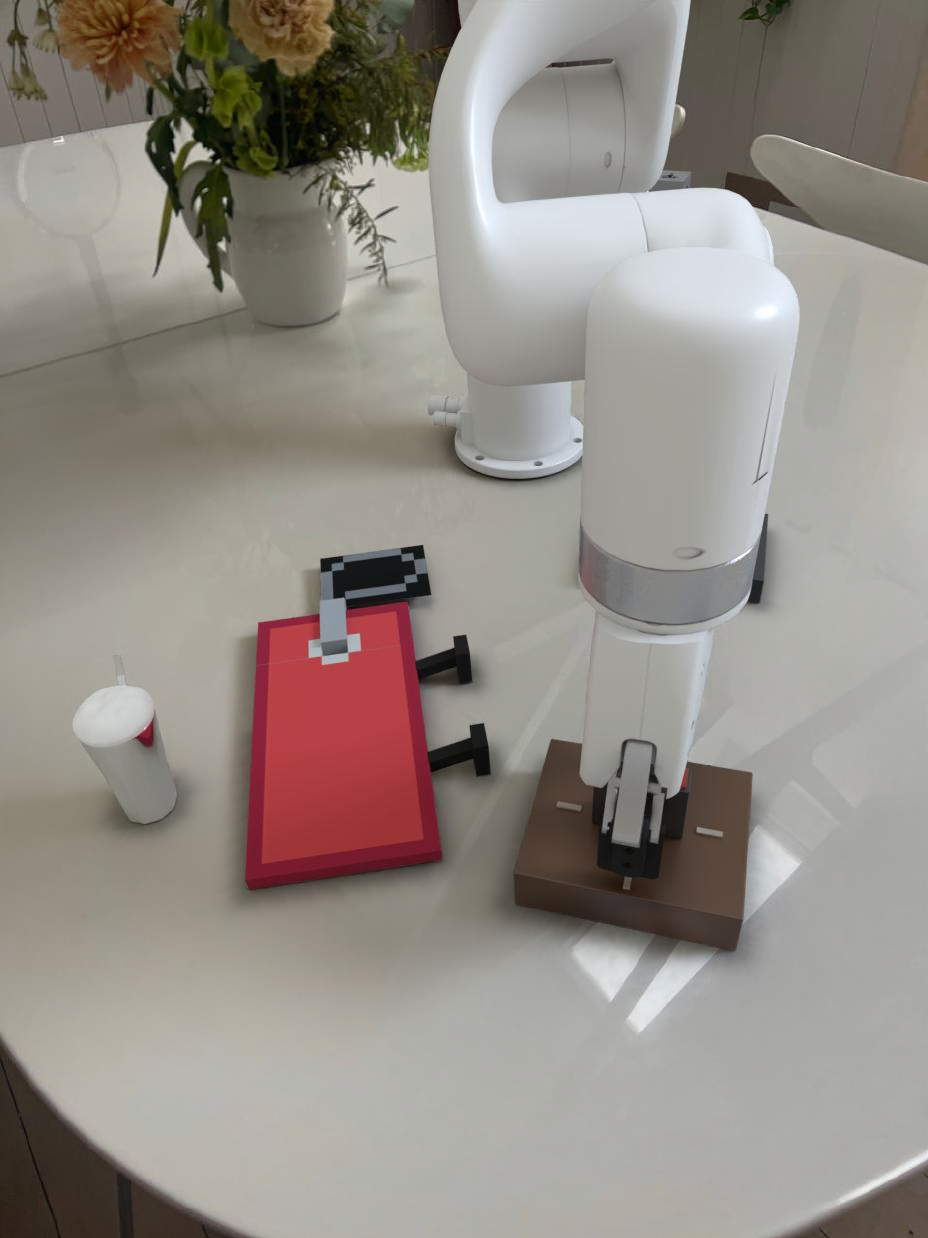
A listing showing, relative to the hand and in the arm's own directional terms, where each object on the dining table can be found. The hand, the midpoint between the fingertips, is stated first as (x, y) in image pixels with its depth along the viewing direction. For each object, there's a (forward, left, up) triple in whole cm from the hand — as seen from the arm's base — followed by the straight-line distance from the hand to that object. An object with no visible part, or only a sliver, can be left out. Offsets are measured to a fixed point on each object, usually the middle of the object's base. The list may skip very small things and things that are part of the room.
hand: (638, 806), depth 52 cm
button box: (0, +29, -4) cm, 29 cm away
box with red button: (0, 0, -1) cm, 1 cm away
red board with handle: (-20, +9, -4) cm, 22 cm away
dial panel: (0, 0, -4) cm, 4 cm away
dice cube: (-11, +115, -4) cm, 115 cm away
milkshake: (-30, -3, -4) cm, 30 cm away
